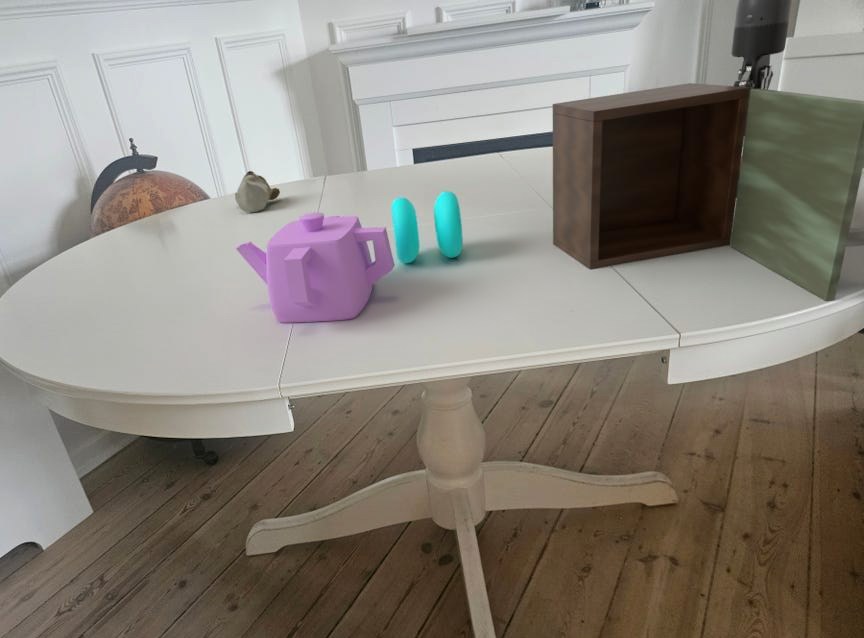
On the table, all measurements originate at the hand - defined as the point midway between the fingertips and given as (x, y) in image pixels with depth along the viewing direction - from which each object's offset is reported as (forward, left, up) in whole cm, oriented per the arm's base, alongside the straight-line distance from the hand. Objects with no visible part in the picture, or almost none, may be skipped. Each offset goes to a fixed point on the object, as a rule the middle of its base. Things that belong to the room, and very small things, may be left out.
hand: (746, 135), depth 108 cm
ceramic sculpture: (+66, -76, -9) cm, 101 cm away
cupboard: (+35, +8, -9) cm, 37 cm away
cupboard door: (+29, +29, -9) cm, 42 cm away
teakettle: (+79, -7, -9) cm, 79 cm away
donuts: (+59, -11, -9) cm, 60 cm away
